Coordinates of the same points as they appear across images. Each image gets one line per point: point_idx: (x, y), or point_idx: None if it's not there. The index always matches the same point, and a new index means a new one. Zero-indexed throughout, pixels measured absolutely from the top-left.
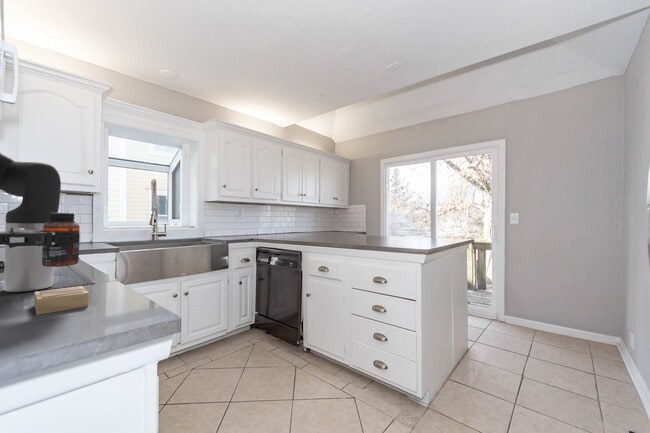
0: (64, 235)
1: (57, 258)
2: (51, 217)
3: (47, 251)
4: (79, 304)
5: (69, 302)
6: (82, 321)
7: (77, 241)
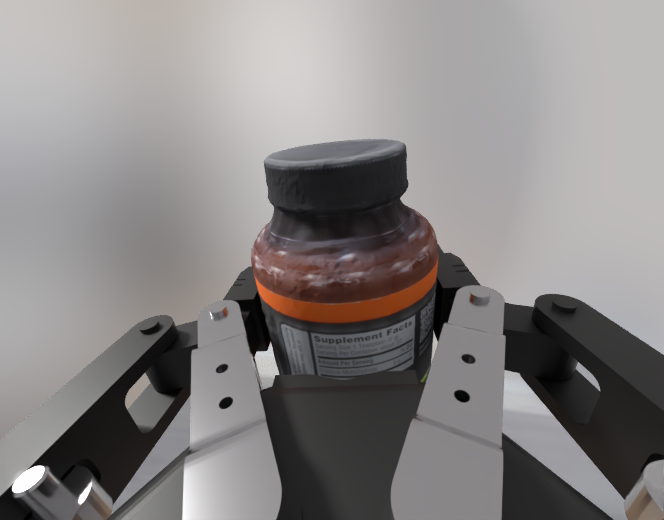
0: (475, 279)
1: None
2: (371, 198)
3: None
4: None
5: None
6: (596, 471)
7: None
